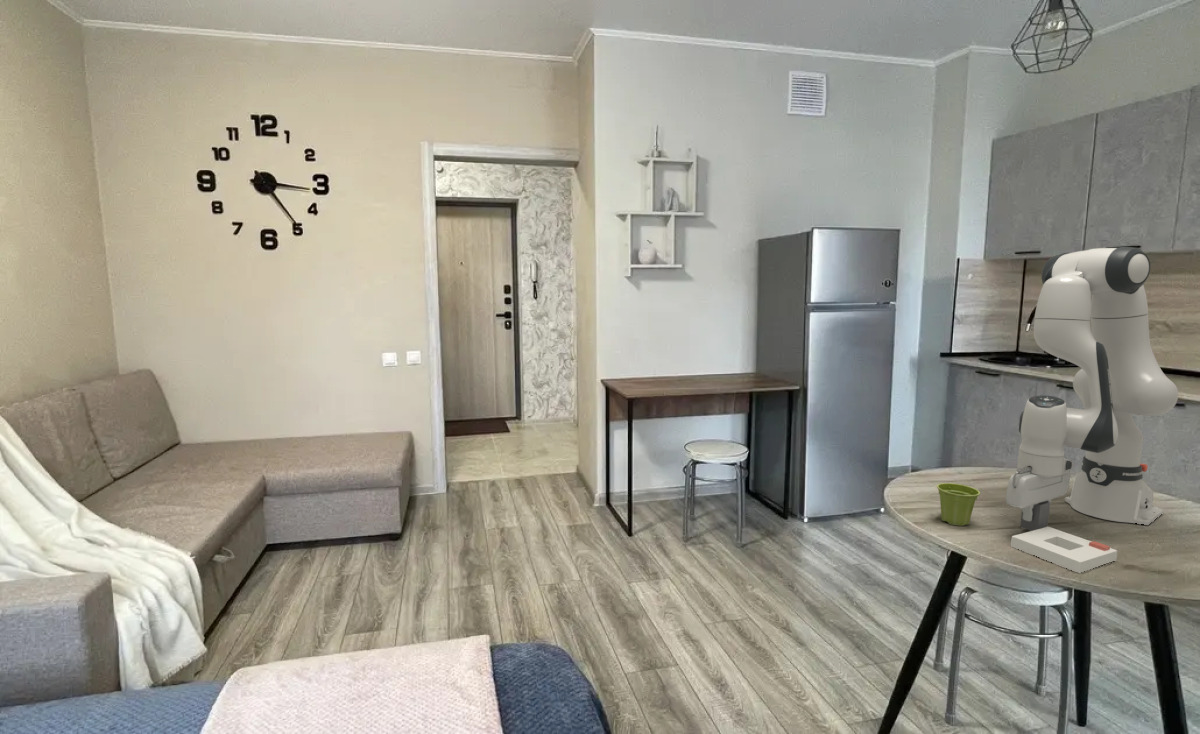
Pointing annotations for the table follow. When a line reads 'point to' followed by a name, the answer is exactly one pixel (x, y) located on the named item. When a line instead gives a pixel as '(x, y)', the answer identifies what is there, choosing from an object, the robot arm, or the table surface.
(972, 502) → the plant pot
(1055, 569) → the table surface
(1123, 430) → the robot arm
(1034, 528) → the plug
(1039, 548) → the socket plate
